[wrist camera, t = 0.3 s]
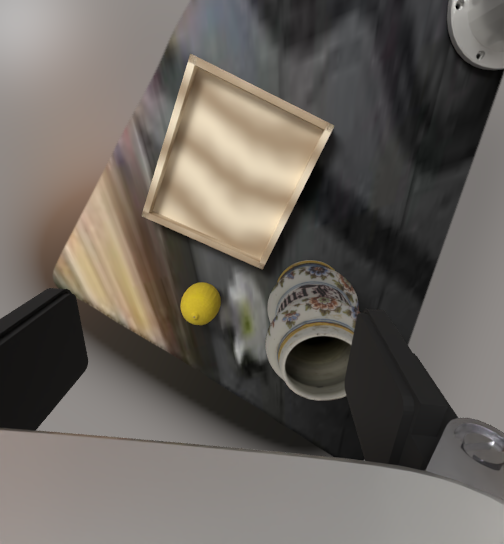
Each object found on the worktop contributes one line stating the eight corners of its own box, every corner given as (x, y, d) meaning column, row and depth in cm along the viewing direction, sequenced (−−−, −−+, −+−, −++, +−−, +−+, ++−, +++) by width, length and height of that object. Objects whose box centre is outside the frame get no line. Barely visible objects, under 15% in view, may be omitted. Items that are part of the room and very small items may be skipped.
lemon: (213, 268, 47) (201, 292, 40) (230, 298, 49) (222, 326, 42) (182, 282, 49) (165, 308, 41) (200, 311, 50) (187, 340, 43)
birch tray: (195, 59, 37) (190, 53, 35) (331, 126, 39) (334, 125, 37) (148, 212, 45) (141, 216, 42) (263, 263, 46) (262, 269, 44)
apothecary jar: (267, 253, 46) (262, 316, 29) (352, 252, 45) (396, 317, 28) (269, 324, 50) (265, 414, 34) (345, 325, 49) (380, 417, 33)
